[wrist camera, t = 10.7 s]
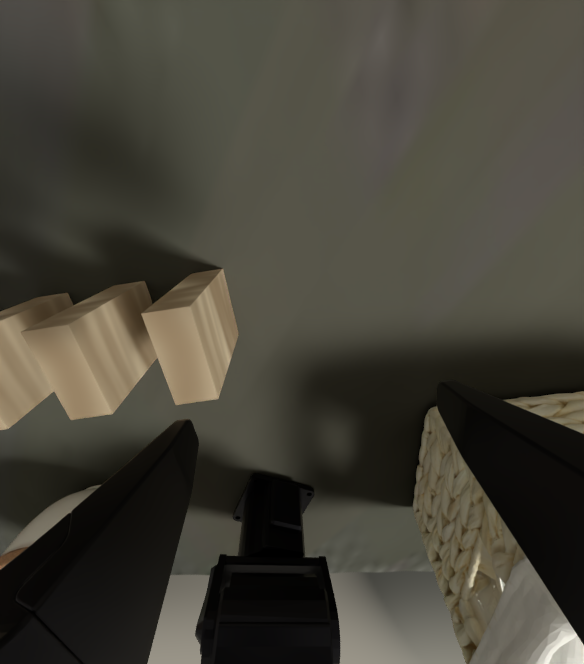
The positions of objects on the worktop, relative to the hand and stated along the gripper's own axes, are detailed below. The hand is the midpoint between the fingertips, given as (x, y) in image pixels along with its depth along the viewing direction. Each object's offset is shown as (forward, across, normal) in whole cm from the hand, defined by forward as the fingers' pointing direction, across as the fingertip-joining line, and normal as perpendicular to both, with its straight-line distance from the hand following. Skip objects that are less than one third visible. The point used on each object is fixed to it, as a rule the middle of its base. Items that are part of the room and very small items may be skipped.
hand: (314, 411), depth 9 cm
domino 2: (+13, +11, 0) cm, 17 cm away
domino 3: (+13, +6, 0) cm, 14 cm away
